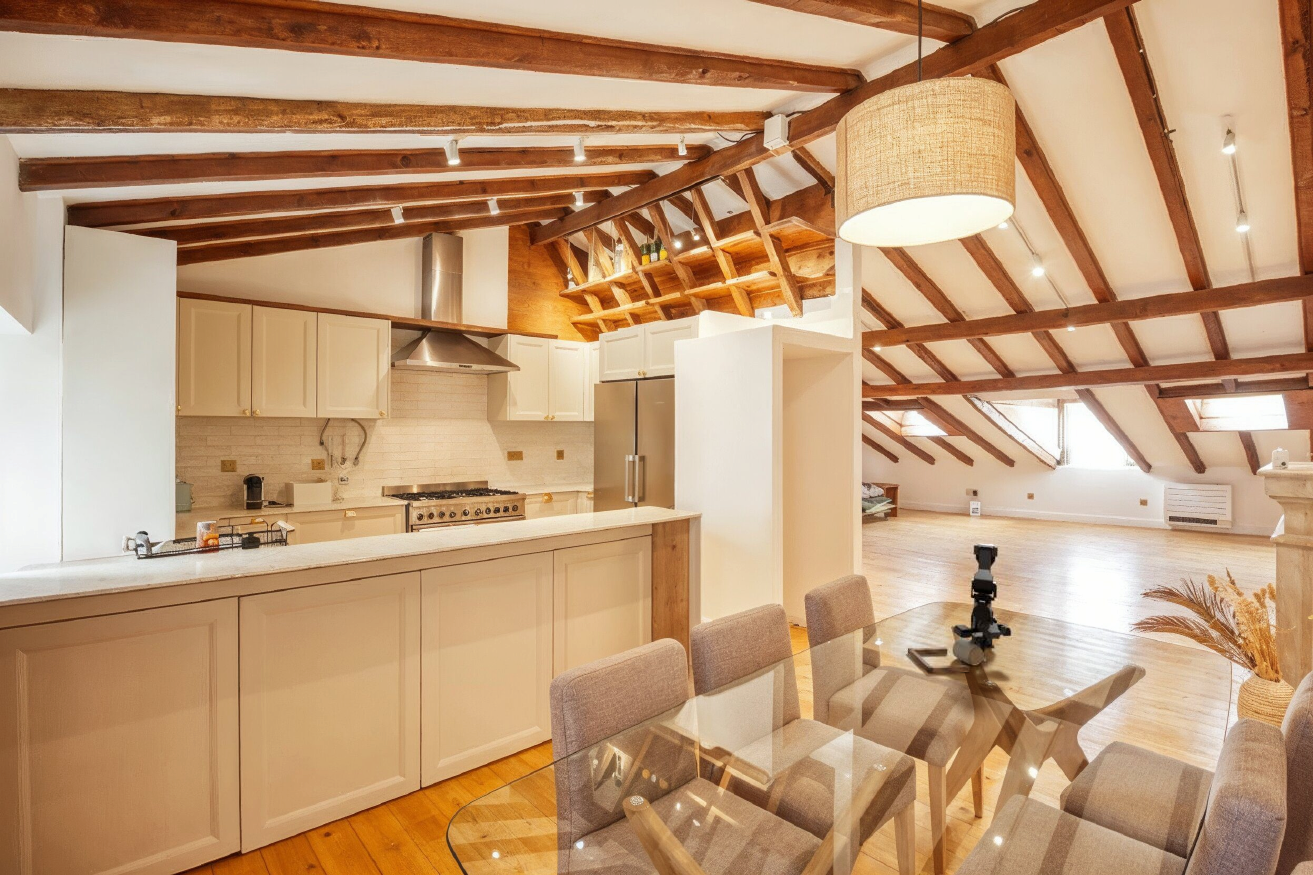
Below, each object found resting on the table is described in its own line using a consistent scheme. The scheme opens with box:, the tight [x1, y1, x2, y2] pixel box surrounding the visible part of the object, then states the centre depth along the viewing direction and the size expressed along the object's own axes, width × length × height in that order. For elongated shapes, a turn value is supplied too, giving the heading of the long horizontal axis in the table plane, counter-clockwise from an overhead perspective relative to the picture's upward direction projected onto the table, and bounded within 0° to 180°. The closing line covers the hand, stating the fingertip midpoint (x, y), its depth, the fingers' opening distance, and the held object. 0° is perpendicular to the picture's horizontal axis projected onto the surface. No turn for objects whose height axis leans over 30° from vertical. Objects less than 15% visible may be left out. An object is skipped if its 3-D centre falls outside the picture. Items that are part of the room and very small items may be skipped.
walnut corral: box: [907, 646, 970, 675], centre depth 231 cm, size 14×17×2 cm
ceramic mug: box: [952, 637, 987, 666], centre depth 231 cm, size 11×8×8 cm
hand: (981, 653), depth 231 cm, fingers closed
